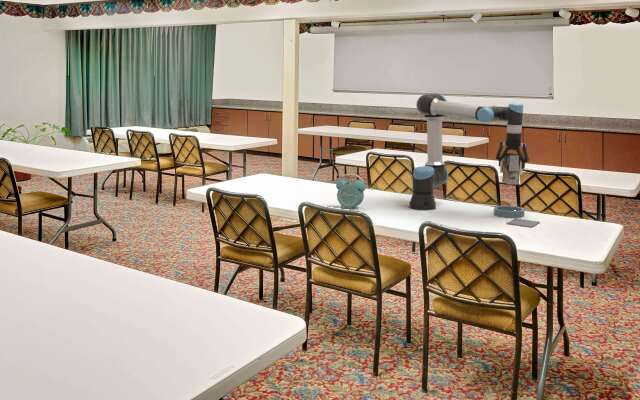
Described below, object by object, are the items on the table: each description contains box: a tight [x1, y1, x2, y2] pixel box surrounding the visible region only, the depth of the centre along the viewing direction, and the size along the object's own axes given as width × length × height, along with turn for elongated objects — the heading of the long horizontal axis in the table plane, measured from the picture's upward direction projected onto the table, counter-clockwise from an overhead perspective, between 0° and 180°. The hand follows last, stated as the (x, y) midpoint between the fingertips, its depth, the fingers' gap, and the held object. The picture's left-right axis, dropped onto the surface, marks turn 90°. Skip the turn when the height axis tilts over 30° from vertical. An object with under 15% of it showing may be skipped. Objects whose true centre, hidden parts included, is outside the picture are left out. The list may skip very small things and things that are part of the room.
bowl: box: [493, 205, 525, 219], centre depth 339 cm, size 16×16×4 cm
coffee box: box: [502, 152, 522, 185], centre depth 334 cm, size 9×6×16 cm
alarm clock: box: [335, 173, 367, 210], centre depth 354 cm, size 17×10×20 cm, turn 68°
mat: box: [506, 218, 541, 229], centre depth 320 cm, size 13×13×1 cm
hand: (510, 173), depth 335 cm, fingers closed on coffee box, 10 cm apart
